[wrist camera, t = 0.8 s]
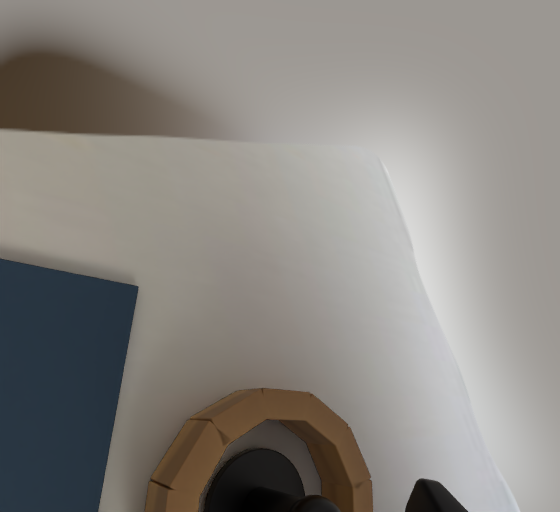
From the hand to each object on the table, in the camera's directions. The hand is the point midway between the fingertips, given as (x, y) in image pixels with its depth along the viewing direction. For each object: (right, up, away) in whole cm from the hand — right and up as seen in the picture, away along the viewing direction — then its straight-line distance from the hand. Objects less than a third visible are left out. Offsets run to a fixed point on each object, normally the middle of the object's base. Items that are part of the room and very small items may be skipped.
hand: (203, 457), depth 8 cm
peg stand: (0, -10, +15) cm, 18 cm away
